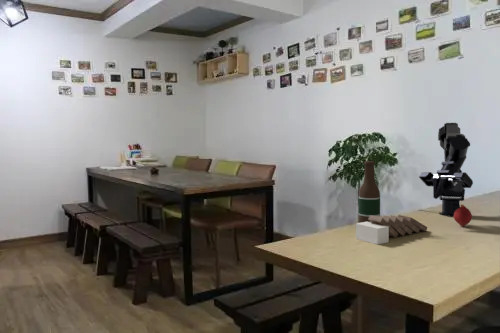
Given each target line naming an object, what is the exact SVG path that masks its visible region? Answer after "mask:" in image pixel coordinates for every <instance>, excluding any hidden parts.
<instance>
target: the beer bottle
mask: <svg viewBox="0 0 500 333" xmlns="http://www.w3.org/2000/svg"><path fill="white" fill-rule="evenodd" d="M363 164H364V175H363V176H364V177H363V182H362V184H361V186H360V188H359V190H358V202H357V204H358V211H357V212H358V216H357V218H358V219H357V220H358V221H357V223H361V222H370V221H369V220H368V218H369V216H370V215H372V216H381V191H380V189H379V187H378V185H377V184H376V178H375V177H376V176H375V165H376V163H375V161H374V160H365V161H364V162H363Z"/></svg>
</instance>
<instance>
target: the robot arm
mask: <svg viewBox="0 0 500 333" xmlns="http://www.w3.org/2000/svg"><path fill="white" fill-rule="evenodd" d="M437 141H439V146H440V147H441V148H442V149H443V152H444V153H443V154H444V161H441V163H440V164H441V169H438V170H436V174H434V173H433V172H430V171H425V172H423V171H422V172H420V174H419V176H418V179H420V180H421V181H422V183H423V184H425V186H427V187H432V188H433V192H432V194H433V196H432V197H433V199H435V200H437V199H439V201H442V203H441V204H442V205H441V211H439V212H438V214H439V215H442V216H447V217H454V212H455V211H456V210H457V209H458V208H459V207H461V204H460V201H461V202H463V201H465V193H466V189H471V188H472V187H473V185H474V182H473V179H472V178H471V176H469V174H468V173H467V172H463V170H462V169H461V168H462V167H463V164H464V163H465V161H466V159H467V154H468V153H467V152H468V150H469V147H470V146H471V142H470V141H469V140H468V138H467V137H466V135H465V134H464V133H461V128H460V127H459V124H458V123H457V122H446V123H444V125H443V126H441V127H440V128H438V133H437Z"/></svg>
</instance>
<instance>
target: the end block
mask: <svg viewBox="0 0 500 333" xmlns="http://www.w3.org/2000/svg"><path fill="white" fill-rule="evenodd" d="M389 237H390V236H389V226H384V225H380V224H375V223H371V222H361V223H359V222H357V223H355V239H356V240H359V241H363V242H367V243H370V244H373V245H383V244H386V243H389V240H390V239H389Z"/></svg>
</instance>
